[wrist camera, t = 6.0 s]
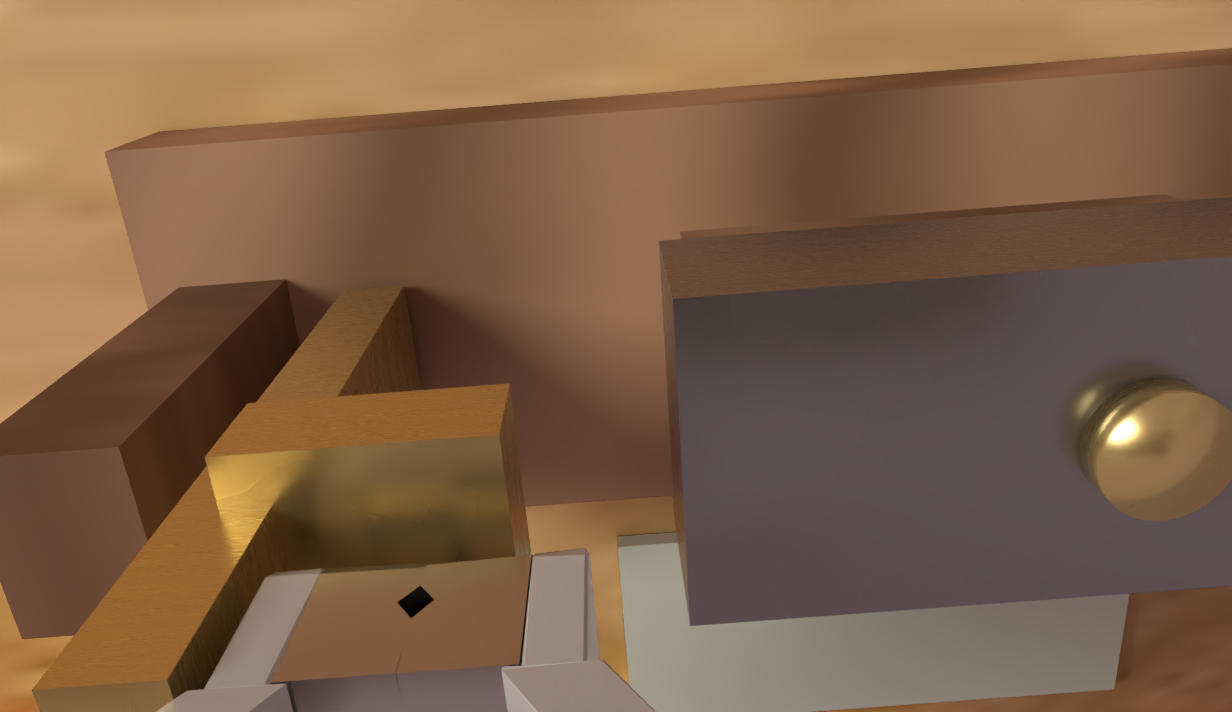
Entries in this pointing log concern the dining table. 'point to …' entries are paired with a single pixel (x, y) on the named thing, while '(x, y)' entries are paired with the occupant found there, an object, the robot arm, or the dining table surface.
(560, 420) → the plane body
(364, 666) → the robot arm
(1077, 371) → the purple-grey knobbed block
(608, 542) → the dining table surface
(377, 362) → the lever
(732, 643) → the pale grey flat slab
